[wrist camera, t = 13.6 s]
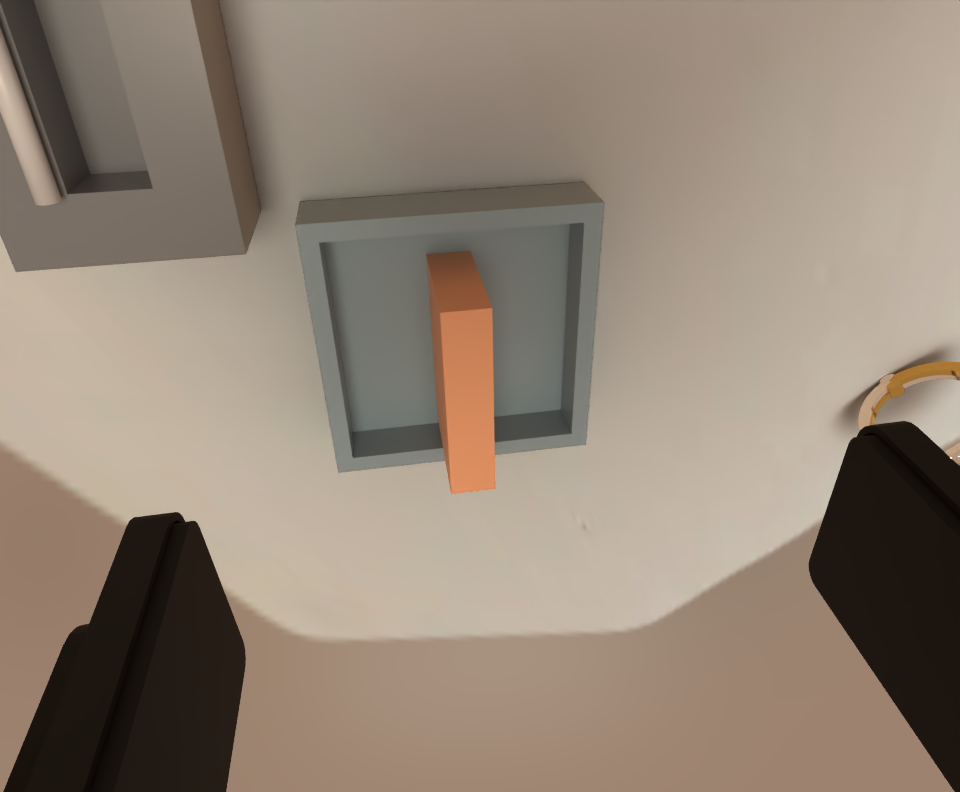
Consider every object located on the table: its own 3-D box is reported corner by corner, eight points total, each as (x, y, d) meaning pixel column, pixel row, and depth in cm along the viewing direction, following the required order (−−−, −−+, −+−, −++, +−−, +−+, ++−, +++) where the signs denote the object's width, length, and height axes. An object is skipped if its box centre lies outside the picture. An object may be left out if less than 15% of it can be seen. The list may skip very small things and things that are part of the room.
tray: (584, 181, 31) (604, 202, 29) (570, 411, 38) (585, 444, 36) (300, 201, 30) (294, 224, 27) (339, 437, 37) (338, 472, 34)
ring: (935, 327, 39) (1055, 406, 32) (949, 364, 41) (1066, 446, 34) (823, 397, 40) (915, 485, 34) (840, 430, 42) (931, 521, 35)
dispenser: (190, -141, 23) (148, -163, 18) (260, 211, 30) (243, 262, 25) (-67, -137, 22) (-182, -160, 18) (64, 225, 29) (6, 280, 24)
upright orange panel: (475, 414, 36) (470, 250, 31) (495, 488, 31) (492, 308, 26) (437, 418, 36) (426, 254, 31) (451, 493, 31) (439, 312, 26)
